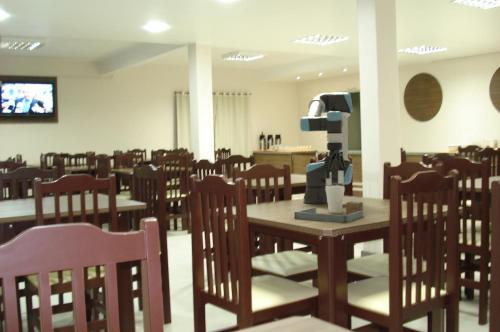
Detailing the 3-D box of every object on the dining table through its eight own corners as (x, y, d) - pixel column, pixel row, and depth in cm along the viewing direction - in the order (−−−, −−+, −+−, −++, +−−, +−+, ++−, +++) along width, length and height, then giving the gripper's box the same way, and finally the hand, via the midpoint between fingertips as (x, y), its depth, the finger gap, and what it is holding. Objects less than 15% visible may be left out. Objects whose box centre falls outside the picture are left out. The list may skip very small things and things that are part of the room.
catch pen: (314, 213, 270) (314, 207, 270) (363, 217, 255) (363, 210, 255) (294, 218, 255) (294, 212, 254) (345, 222, 239) (345, 216, 239)
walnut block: (351, 213, 268) (351, 201, 268) (362, 214, 265) (362, 202, 264) (346, 214, 263) (346, 202, 263) (357, 215, 260) (357, 203, 259)
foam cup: (329, 213, 268) (329, 187, 267) (323, 211, 277) (323, 186, 276) (347, 212, 270) (347, 186, 269) (340, 210, 279) (340, 185, 278)
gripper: (338, 142, 284) (339, 182, 284) (316, 142, 263) (316, 185, 264) (351, 141, 279) (352, 182, 280) (329, 142, 259) (330, 186, 260)
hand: (334, 184), depth 272 cm, fingers open, 13 cm apart
